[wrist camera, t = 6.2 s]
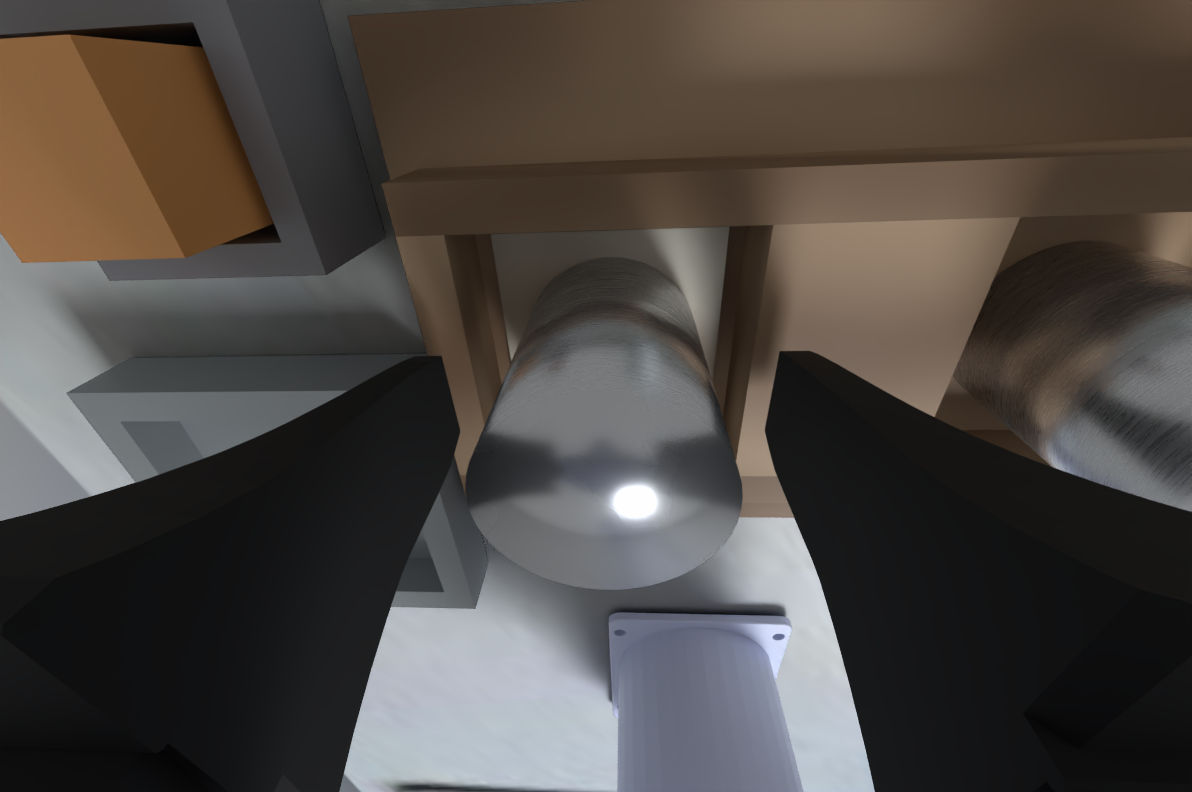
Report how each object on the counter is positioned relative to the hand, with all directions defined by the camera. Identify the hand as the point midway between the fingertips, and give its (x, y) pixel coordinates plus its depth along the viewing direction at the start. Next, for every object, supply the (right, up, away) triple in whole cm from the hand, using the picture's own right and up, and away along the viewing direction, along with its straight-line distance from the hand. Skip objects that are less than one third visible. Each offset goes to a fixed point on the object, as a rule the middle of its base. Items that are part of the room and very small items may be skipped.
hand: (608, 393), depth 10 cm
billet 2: (+11, +2, +2) cm, 11 cm away
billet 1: (0, +1, +2) cm, 3 cm away
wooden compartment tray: (+6, +2, +3) cm, 7 cm away
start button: (-9, +5, -1) cm, 10 cm away
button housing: (-8, +6, +1) cm, 11 cm away
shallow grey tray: (-10, -3, +7) cm, 13 cm away
